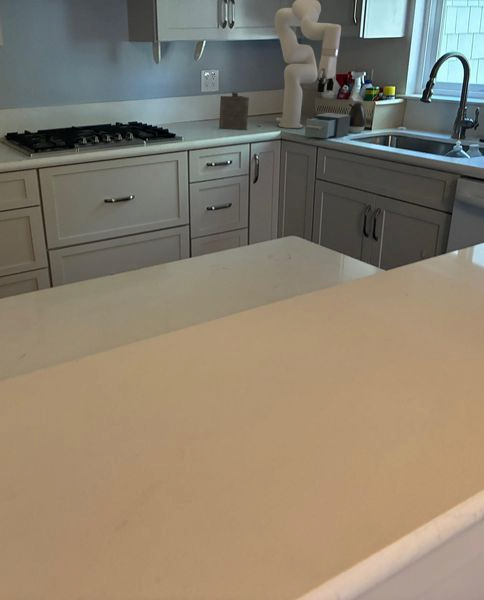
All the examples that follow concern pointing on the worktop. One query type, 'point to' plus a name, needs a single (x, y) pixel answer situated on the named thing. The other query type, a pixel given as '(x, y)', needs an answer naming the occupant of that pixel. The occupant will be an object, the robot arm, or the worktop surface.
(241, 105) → the flask
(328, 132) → the sliding drawer
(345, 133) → the grey drawer box
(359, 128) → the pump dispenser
